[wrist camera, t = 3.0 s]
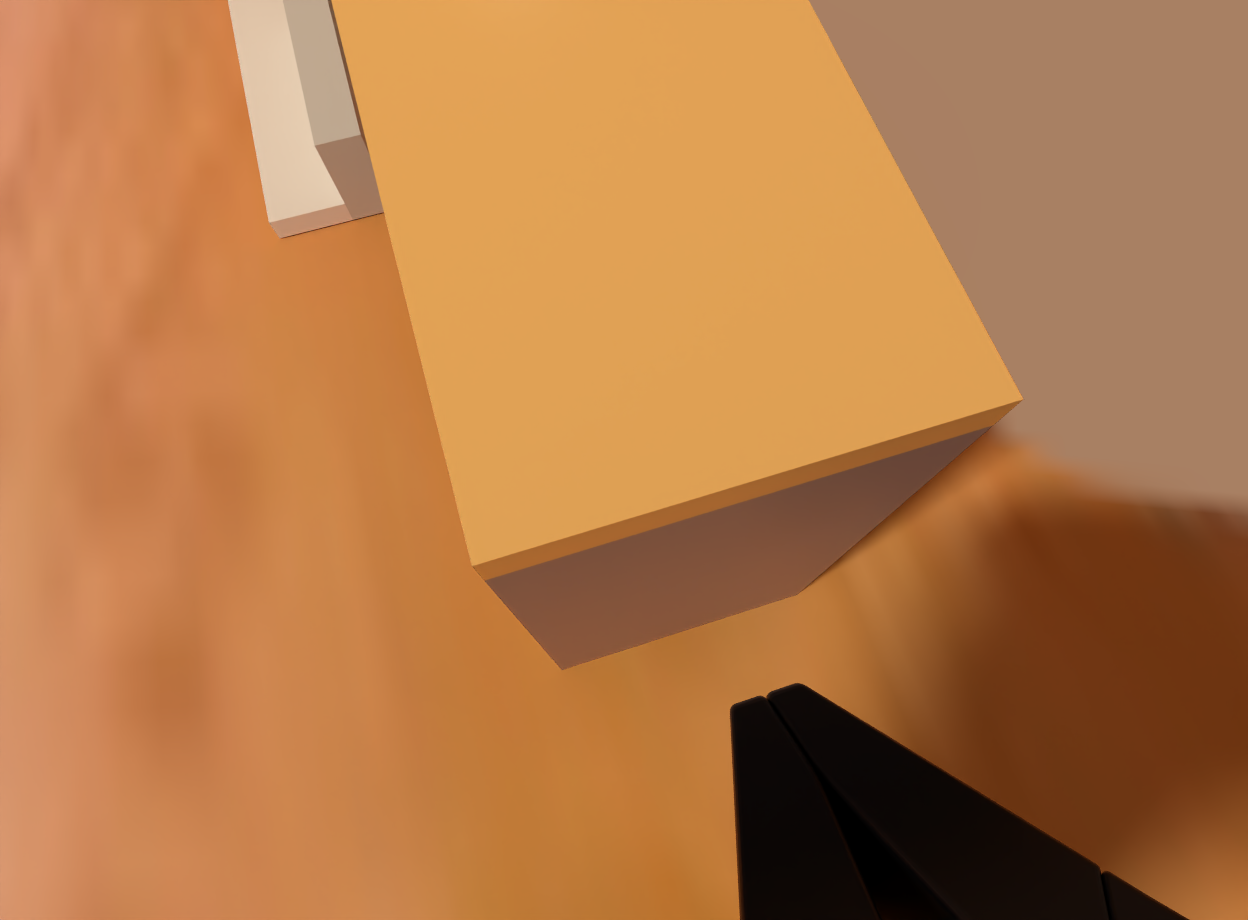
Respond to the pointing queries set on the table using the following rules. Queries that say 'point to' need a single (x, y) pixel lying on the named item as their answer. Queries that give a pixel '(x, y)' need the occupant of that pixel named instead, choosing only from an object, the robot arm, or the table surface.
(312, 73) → the bracket
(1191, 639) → the table surface
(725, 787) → the table surface
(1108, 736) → the table surface
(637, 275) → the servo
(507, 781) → the table surface
